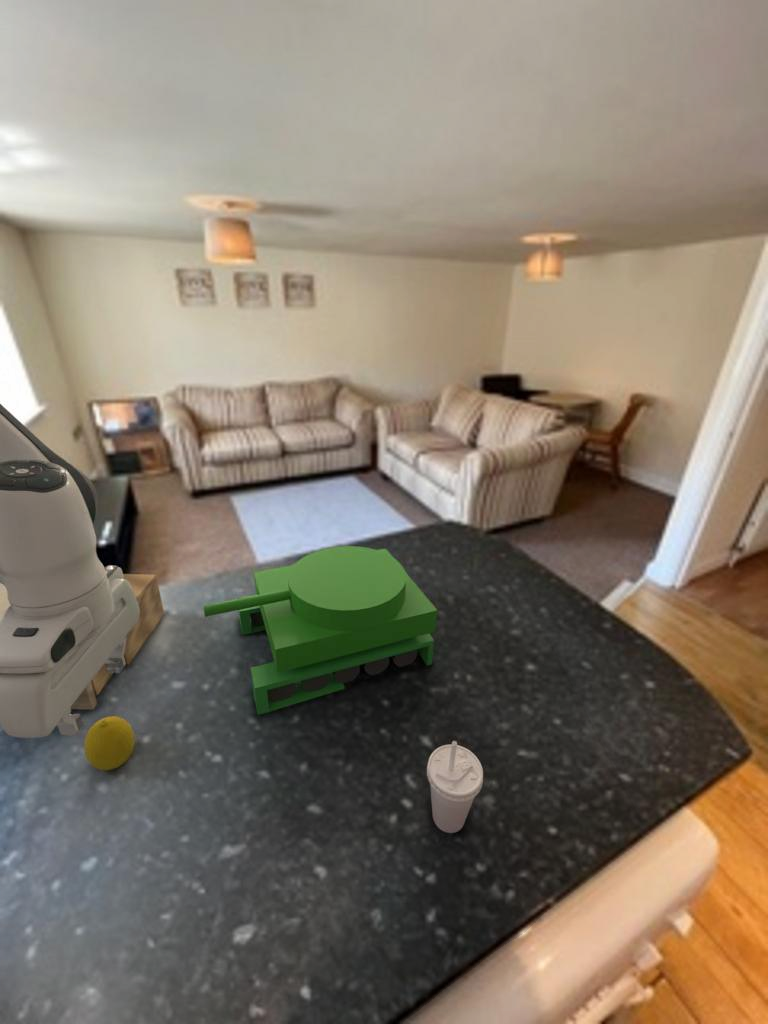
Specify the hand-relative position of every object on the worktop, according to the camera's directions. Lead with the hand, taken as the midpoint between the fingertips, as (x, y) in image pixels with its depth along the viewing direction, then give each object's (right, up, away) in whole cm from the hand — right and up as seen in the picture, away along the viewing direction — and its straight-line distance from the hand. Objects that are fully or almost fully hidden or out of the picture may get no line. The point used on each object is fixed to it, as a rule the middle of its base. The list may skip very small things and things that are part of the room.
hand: (96, 697), depth 55 cm
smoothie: (+44, -15, 0) cm, 46 cm away
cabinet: (-14, -1, +27) cm, 30 cm away
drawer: (-14, -5, +16) cm, 21 cm away
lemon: (-1, -11, +5) cm, 12 cm away
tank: (+23, -2, +27) cm, 35 cm away
